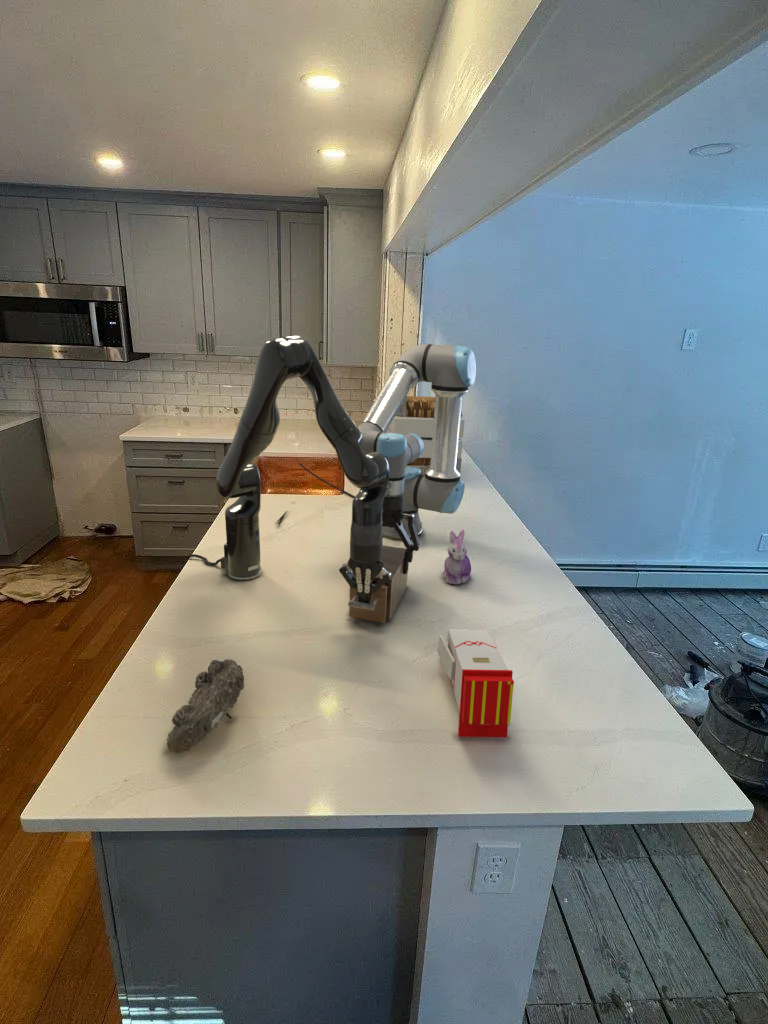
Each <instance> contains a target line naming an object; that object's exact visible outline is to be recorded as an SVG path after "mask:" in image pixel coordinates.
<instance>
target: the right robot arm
mask: <svg viewBox="0 0 768 1024" xmlns="http://www.w3.org/2000/svg"><path fill="white" fill-rule="evenodd" d="M476 376H477V363H476V356H475V354H474V351H473V350H472V349H471V348H470V347H468V346H462V345H451V344H450V345H449V344H434V343H433V344H432V343H421V344H418V345H415V346H413V347H411V348H409V349H408V350H406V351H405V352H403V353H402V354H401V355H400V356H399V357H398V358H396V359H395V361H394V362H393V364H392V365H391V367H390V369H389V377H388V378H387V380H386V381H385V383H384V385H383V386H382V388H381V390H379V391H380V392H379V393H378V395H377V396H376V398H375V399H374V401H373V403H372V404H371V406H370V408H369V409H368V411H367V413H366V415H365V416H364V418H363V419H362V421H361V422H360V424H359V425H358V426H357V428H358V429H359V430H360V432H361V434H362V436H363V440H362V442H361V444H360V447H361V449H362V451H363V453H364V455H365V454H368V453H371V452H378V453H381V454H382V455H384V456H385V458H386V459H387V461H388V464H389V469H390V474H389V481H388V485H387V490H386V494H385V497H384V500H383V514H382V526H383V538H384V537H385V538H387V539H389V540H395V541H402V543H403V545H404V547H405V549H406V551H405V555H404V573H403V574H407V572H409V563H412V562H413V559H414V552H417V551H419V550H420V548H421V542H420V537H421V536H422V535H423V525H422V524H423V523H422V522H421V518H420V515H419V509H420V510H424V511H430V512H436V513H440V514H449V515H452V514H454V513H456V512H457V510H458V509H459V508H460V505H461V503H462V500H463V497H464V493H465V489H466V485H465V484H466V483H465V481H464V480H462V479H461V474H460V473H459V472H458V471H457V470H456V463H457V452H458V441H459V430H460V419H461V418H462V417H461V412H462V407H463V398H464V395H466V394H467V393H468V392H469V388H470V387H472V386H474V384H475V382H476ZM422 382H424V383H425V382H426V383H431V385H430V386H431V387H430V389H431V391H432V392H433V393H434V395H435V396H434V397H435V410H434V423H433V436H432V449H431V462H430V466H429V468H427V469H426V470H425V471H424V474H422V470H421V468H419V467H416V466H407V464H409V463H411V462H413V461H415V460H417V459H418V458H419V457H420V456H421V455H422V453H423V450H424V444H423V441H422V439H421V438H420V437H419V436H418V435H416V434H413V433H409V434H404V435H402V434H397V433H386V431H387V429H388V428H389V426H390V424H391V422H392V421H393V419H394V417H395V415H396V414H397V412H398V410H399V408H400V407H401V405H402V403H403V401H404V400H405V398H406V396H408V395H409V393H410V391H411V390H412V389H414V388H415V387H416V386H417V385H418V383H422ZM298 464H299V465H300V466H301V467H302V468H303V470H305V471H306V472H307V473H309V474H310V475H312V476H313V477H315V478H317V480H320V481H321V482H323V483H325V484H327V485H328V486H331V487H332V488H335V489H336V490H338V491H340V492H342V493H344V494H345V495H347V496H349V497H351V498H353V499H354V497H355V496H356V495H354V494H352V493H350V492H348V491H345V489H342V488H340V487H338V486H337V485H334V484H332V483H330V482H329V481H328V480H325V479H323V478H321V477H320V476H319V475H317V474H315V473H313V472H312V471H311V470H309V469H308V468H307V467H305V466H304V464H302V463H301V462H299V463H298Z"/></svg>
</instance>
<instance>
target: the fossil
mask: <svg viewBox="0 0 768 1024" xmlns="http://www.w3.org/2000/svg"><path fill="white" fill-rule="evenodd" d="M243 670H244V669H243V667H242V665H240V664H237V662H236V661H235V660H234V659H232V658H231V659H227V658H226V659H224V660H223V661H222V660H217V659H212V660H211V661H210V663H209V665H208V666H207V671H201V672H199V673H198V674H197V675H196V676H195V680H194V684H195V685H194V687H195V689H194V690H193V693H192V694H191V697H190V698H189V700H188V704H184V705H182V706H181V707H180V709H177V710H176V711H175V713H174V715H173V716H172V718H171V723H172V724H173V727H172V730H171V731H170V732H168V734H167V738H166V741H167V742H166V745H167V749H168V750H169V751H173V752H174V753H176V754H178V753H182V752H188V751H189V752H192V751H193V750H195V748H196V747H197V746H199V744H200V743H201V742H203V741H204V740H205V739H206V738H207V737H208V736H209V735H210V734H211V733H212V732H214V730H215V729H217V727H218V726H219V724H220V722H221V721H222V720H223V719H224V718H225V716H226V717H227V719H229V720H233V717H232V715H230V714H229V710H230V709H231V708H234V706H235V704H236V703H237V702H238V699H239V697H240V695H241V693H242V691H243V690H245V689H244V688H245V675H244V671H243Z"/></svg>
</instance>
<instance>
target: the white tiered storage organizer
mask: <svg viewBox="0 0 768 1024" xmlns="http://www.w3.org/2000/svg"><path fill="white" fill-rule="evenodd" d="M434 410H435V396H415V395H414V396H413V395H412V396H411V395H407V396H406V398H405V400H404V401H403V403H402V405H401V407H400V408H399V410H398V412H397V414H396V415H395V417H394V419H393V421H392V422H391V424H390V426H389V428H388V429H387V431H386V433H397V434H402V435H404V434H409V433H413V434H416V435H418V436H419V437H420V438H421V439H422V441H423V444H424V450H423V453H422V455H421V456H420V457H419V458H418V459H417V460H415V461H413V462H411V463H409V464H407V465H406V467H417V466H418V467H430V462H431V449H432V436H433V423H434ZM464 429H465V419H464V418H463V411H461V419H460V430H459V441H458V452H457V463H456V470H457V471H458V472H459V473H460V475H461V472H462V461H463V460H462V453H463V442H464V441H463V440H462V439H463V438H464V431H465V430H464Z"/></svg>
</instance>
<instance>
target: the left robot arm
mask: <svg viewBox="0 0 768 1024" xmlns="http://www.w3.org/2000/svg"><path fill="white" fill-rule="evenodd" d="M296 378H299V379H300V380H301V381H302V382H303V383H304V384H305V385H306V387H307V388H308V390H309V392H310V394H311V397H312V400H313V408H314V414H315V419H316V422H317V424H318V427H319V428H320V430H321V433H322V434H323V435H324V437H325V438H326V439H327V441H328V442H329V443H330V445H331V446H332V448H333V449H334V450H335V453H336V455H337V458H338V461H339V464H340V467H341V469H342V471H343V473H344V475H345V477H346V479H347V480H348V482H350V484H352V485H353V486H354V487H355V488H358V489H359V491H358V493H357V494H356V495H354V496H355V497H354V498H353V499H352V503H351V524H350V533H349V541H350V542H349V559H348V561H347V563H345V564H344V563H343V564H342V565H341V566H340V567H339V569H338V571H339V573H340V574H341V576H342V577H343V578H344V579H345V581H346V583H347V584H348V586H349V588H350V587H351V588H352V589H354V588H355V589H356V590H358V602H363V603H370V601H371V592H376V591H377V590H378V589H379V588H380V587H381V586H382V585H383V584H384V583H385V582H386V581H387V580H388V579H389V578H390V576H391V575H392V573H391V571H387V570H386V569H384V568H383V567H384V565H383V562H382V545H383V542H384V541H383V540H384V536H383V526H382V514H383V500H384V497H385V494H386V490H387V485H388V481H389V474H390V469H389V464H388V461H387V459H386V458H385V456H384V455H382V454H381V453H378V452H371V453H368V454H365V455H364V453H363V451H362V449H361V447H360V444H361V442H362V440H363V436H362V434H361V432H360V430H359V429H358V425H356V423H355V422H354V420H353V419H352V418H351V416H350V414H349V413H348V412H347V411H346V409H345V408H344V406H343V405H342V403H341V401H340V400H339V397H338V396H337V394H336V392H335V390H334V388H333V386H332V384H331V382H330V380H329V378H328V376H327V374H326V372H325V370H324V368H323V366H322V364H321V362H320V361H319V358H318V356H317V354H316V352H315V350H314V349H313V347H312V346H311V344H310V343H309V342H308V340H307V339H306V338H304V337H303V336H301V335H299V334H289V335H285V336H279V337H275V338H271V339H269V340H267V341H266V342H264V344H263V346H262V347H261V349H260V351H259V355H258V358H257V363H256V367H255V372H254V376H253V380H252V385H251V388H250V391H249V394H248V397H247V400H246V403H245V406H244V408H243V411H242V413H241V416H240V419H239V421H238V423H237V424H238V425H237V428H236V431H235V433H234V436H233V438H232V441H231V443H230V446H229V448H228V451H227V453H226V454H225V456H224V458H223V460H222V461H221V464H220V466H219V468H218V470H217V473H216V474H217V475H216V480H215V481H216V483H215V484H216V489H217V491H218V493H219V494H220V496H222V497H223V498H225V499H236V498H237V499H236V500H235V502H233V503H232V504H230V505H228V506H227V508H226V509H225V511H224V520H225V538H226V542H225V543H223V556H222V557H221V558H219V559H217V560H216V561H215V562H211V561H208V558H207V557H204V556H203V555H201V554H200V555H199V554H194V553H193V554H189V555H187V556H186V557H185V559H187V560H189V559H190V558H198V559H200V560H203V561H204V563H205V564H206V565H209V566H217V565H218V564H219V563H220V569H222V570H224V573H225V576H228V577H229V578H230V579H232V580H236V581H250V580H253V579H256V578H258V577H260V575H261V574H262V566H261V538H260V537H261V533H260V512H261V507H262V505H261V504H262V503H261V502H262V501H261V500H262V499H261V496H262V480H261V479H262V477H261V473H260V470H259V468H258V466H257V465H256V464H255V463H254V462H253V461H254V460H255V459H256V458H257V457H258V456H260V455H261V454H262V453H263V452H265V450H266V449H267V448H268V447H269V446H271V444H272V443H273V440H274V438H275V436H276V433H277V432H278V429H279V426H280V423H281V415H280V409H279V406H278V404H277V398H278V395H279V393H280V390H281V388H282V387H283V385H284V383H285V382H286V381H288V380H291V379H296ZM352 572H353V573H354V575H355V576H356V578H355V576H354V575H353V574H352ZM380 572H381V575H380V579H379V580H378V581H377V582H376V583H375V584H373V579H374V578H375V577H376V576H377V575H378V574H379V573H380ZM372 584H373V585H372Z"/></svg>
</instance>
